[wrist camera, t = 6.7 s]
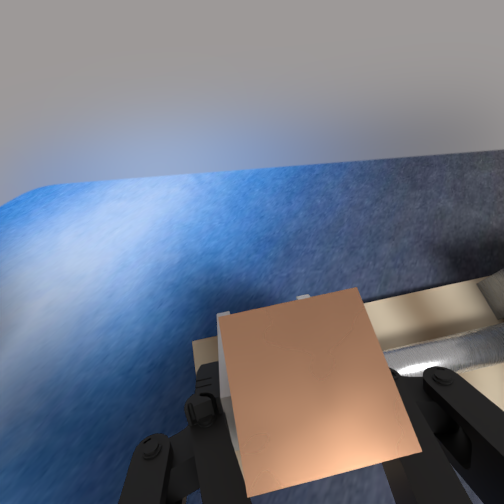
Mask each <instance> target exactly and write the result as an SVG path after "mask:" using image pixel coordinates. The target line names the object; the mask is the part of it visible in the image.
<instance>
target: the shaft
mask: <svg viewBox="0 0 504 504" xmlns="http://www.w3.org/2000/svg"><path fill="white" fill-rule="evenodd" d="M218 320H219V326H220V332H221V338H222V345H223V351H224V357H225V363H226V369H227V375H228V381H229V387H230V394H231V400H232V406H233V412H234V418H235V424H236V430H237V436H238V443H239V449H240V455H241V461H242V467H243V473H244V479H245V485H246V492H247V498H248V497H252V496H256V495H259V494H263V493H267V492H271V491H275V490H278V489H282V488H286V487H290V486H294V485H297V484H301V483H305V482H309V481H313V480H316V479H320V478H324V477H328V476H332V475H335V474H339V473H343V472H347V471H351V470H354V469H358V468H362V467H366V466H370V465H373V464H377V463H381V462H385V461H389V460H392V459H396V458H400V457H404V456H408V455H411V454H415V453H419V452H422V449H421V447H420V444H419V442H418V439H417V437H416V434H415V432H414V429H413V427H412V424H411V422H410V419H409V417H408V414H407V412H406V409H405V407H404V404H403V402H402V399H401V397H400V394H399V392H398V389H397V386H396V384H395V381H394V379H393V376H392V374H391V371H390V369H389V368H392V369H394V370H396V371H397V372H398V373H399V374H400V375H401V376H408V377H423V372H424V370H425V369H427V368H429V367H433V366H439V367H445V368H448V369H451V370H453V371H454V372H456V373H458V374H461V373H465V372H469V371H473V370H477V369H481V368H485V367H489V366H493V365H497V364H501V363H504V322H503V323H499V324H495V325H491V326H486V327H482V328H478V329H474V330H469V331H465V332H461V333H456V334H452V335H448V336H444V337H439V338H435V339H431V340H426V341H422V342H418V343H414V344H409V345H405V346H401V347H396V348H392V349H388V350H384V351H382V349H381V346H380V344H379V341H378V339H377V336H376V334H375V331H374V329H373V326H372V324H371V321H370V319H369V316H368V314H367V311H366V309H365V306H364V304H363V301H362V299H361V296H360V294H359V291H358V289H357V287H355V288H351V289H346V290H342V291H337V292H332V293H328V294H323V295H318V296H314V297H309V298H304V299H300V300H295V301H290V302H286V303H281V304H276V305H272V306H267V307H263V308H258V309H253V310H249V311H244V312H239V313H235V314H230V315H225V316H221V317H218Z"/></svg>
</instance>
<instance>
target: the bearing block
mask: <svg viewBox="0 0 504 504" xmlns="http://www.w3.org/2000/svg"><path fill="white" fill-rule="evenodd" d="M476 285H477V286H478V288H479V290H480V291H481V293H482V295H483V296H484V298H485V300H486V301H487V303H488V305H489V306H490V308H491V310H492V311H493V313H494V315H495V316H496V318H497V320H500V319H504V268H503V269H501V270H500V271H498V272H496V273H494V274H493V275H491V276H489V277H487V278H486V279H484V280H482V281H480V282H479V283H477V284H476Z"/></svg>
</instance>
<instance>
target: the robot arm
mask: <svg viewBox="0 0 504 504" xmlns="http://www.w3.org/2000/svg"><path fill="white" fill-rule="evenodd" d="M309 297H310V296H309V294H307V295H302V296H298V297H296V299H297V300H300V299H304V298H309ZM225 315H230V311H227V312H223V313H218V314H217V333H218V356H219V361H215V362H211V363H206V364H202V365H201V366H200V367H199V369H198V371H197V373H196V387H195V388H196V389H195V394H193V395H192V396H191V397H190V398H189V399H188V400H187V401H186V403H185V407H184V411H185V414H186V418H187V421H188V424H189V425H188V426H187V427H186V428H185V429H184V430H182V431H181V432H179V433H178V434H176V435H174V436H172V437H170V438H168V437H167V435H164V434H162V433H160V434H153V435H150V436H148V437H147V438H145V439H144V440H142V441H141V442H140V443H139V445H138V446H137V447H136V449H135V451H134V453H133V456H132V459H131V462H130V466H129V469H128V472H127V476H126V479H125V482H124V486H123V489H122V492H121V496H120V499H119V502H118V504H186V498H187V496H188V495H189V494H191V493H192V492H194V491H196V490H197V489H199V488H200V491H201V496H202V502H203V504H252V503H251V499H250V497H248V498H247V492H246V485H245V481H244V478H243V475H242V472H241V469H240V466H239V462H238V459H237V456H236V453H235V451H238V450H240V449H239V443H238V436H237V430H236V424H235V418H234V412H233V406H232V400H231V394H230V387H229V381H228V375H227V369H226V363H225V357H224V351H223V345H222V338H221V332H220V326H219V320H218V317H221V316H225ZM389 369H390V371H391V374H392V376H393V379H394V381H395V384H396V386H397V389H398V392H399V394H400V397H401V399H402V402H403V404H404V407H405V409H406V412H407V414H408V417H409V419H410V422H411V424H412V427H413V429H414V432H415V434H416V437H417V439H418V442H419V444H420V447H421V449H422V452H419V453H415V454H411V455H408V456H404V457H400V458H396V459H392V460H389V461H385V462H382V465H383V468H384V471H385V474H386V476H387V479H388V482H389V485H390V488H391V491H392V494H393V497H394V500H395V503H396V504H473V503H472V502H471V500H470V498H469V496H468V495H467V493H466V491H465V489H464V487H463V486H462V484H461V482H460V480H459V478H458V477H457V475H456V473H455V471H454V470H453V468H452V466H453V467H454V468H455V470H456V471H457V472H458V473H459V474H460V476H461V477H462V478H463V479H464V480H465V482H466V483H467V484H468V485H469V486H470V488H471V489H472V490H473V491H474V492H475V494H476V495H477V496H478V497H479V498H480V499H481V501H482V502H483V503H484V504H504V411H503V410H502V409H500V408H499V407H498V406H497V405H496V404H494V403H493V402H492V401H491V400H489V399H488V398H487V397H486V396H484V395H483V394H482V393H481V392H480V391H478V390H477V389H476V388H475V387H473V386H472V385H471V384H470V383H469V382H467V381H466V380H465V379H464V378H462V377H461V376H460V375H459V374H458V373H456V372H454V371H453V370H451V369H448V368H445V367H439V366H433V367H429V368H427V369H425V370H424V372H423V377H408V376H401V375H400V374H399V373H398V372H397V371H396V370H394V369H392V368H389ZM451 465H452V466H451Z"/></svg>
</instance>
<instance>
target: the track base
mask: <svg viewBox="0 0 504 504" xmlns="http://www.w3.org/2000/svg"><path fill="white" fill-rule="evenodd" d="M487 277H489V276H487ZM487 277H482V278H477V279H473V280H468V281H464V282H459V283H455V284H450V285H446V286H441V287H437V288H432V289H427V290H423V291H418V292H414V293H409V294H405V295H400V296H396V297H391V298H387V299H382V300H377V301H373V302H368V303H364V306H365V309H366V311H367V314H368V316H369V319H370V321H371V324H372V326H373V329H374V331H375V334H376V336H377V339H378V341H379V344H380V346H381V349H382V351H384V350H388V349H392V348H396V347H401V346H405V345H409V344H414V343H418V342H422V341H426V340H431V339H435V338H439V337H444V336H448V335H452V334H456V333H461V332H465V331H469V330H474V329H478V328H482V327H486V326H491V325H495V324H499V323H503V322H504V319H500V320H497V318H496V316H495V315H494V313H493V311H492V310H491V308H490V306H489V305H488V303H487V301H486V300H485V298H484V296H483V295H482V293H481V291H480V290H479V288H478V286H477V285H476V284H477V283H479V282H480V281H482V280H484V279H486V278H487ZM192 345H193V354H194V362H195V371H196V373H197V371H198V369H199V367H200V366H201V365H202V364H206V363H211V362H215V361H219V356H218V336H214V337H209V338H205V339H200V340H196V341H192ZM459 375H460V376H461V377H462V378H464V379H465V380H466V381H467V382H469V383H470V384H471V385H472V386H473V387H475V388H476V389H477V390H478V391H480V392H481V393H482V394H483V395H484V396H486V397H487V398H488V399H489V400H491V401H492V402H493V403H494V404H496V405H497V406H498V407H499V408H500V409H502V410H503V411H504V363H501V364H497V365H493V366H489V367H485V368H481V369H477V370H473V371H469V372H465V373H461V374H459ZM235 453H236V456H237V459H238V462H239V466H240V469H241V472H242V475H243V478H244V473H243V467H242V461H241V455H240V450H238V451H235ZM381 463H382V462H381ZM377 464H378V463H377ZM373 465H374V464H373ZM366 467H367V466H366ZM362 468H363V467H362ZM358 469H359V468H358ZM354 470H355V469H354ZM347 472H348V471H347ZM343 473H344V472H343ZM339 474H340V473H339ZM335 475H336V474H335ZM328 477H329V476H328ZM324 478H325V477H324ZM320 479H321V478H320ZM316 480H317V479H316ZM244 481H245V479H244ZM313 481H314V480H313ZM309 482H310V481H309ZM305 483H306V482H305ZM301 484H302V483H301ZM297 485H298V484H297ZM294 486H295V485H294ZM290 487H291V486H290ZM286 488H287V487H286ZM282 489H283V488H282ZM278 490H279V489H278ZM275 491H276V490H275ZM271 492H272V491H271ZM267 493H268V492H267ZM263 494H264V493H263ZM259 495H260V494H259ZM256 496H257V495H256ZM252 497H253V496H252Z"/></svg>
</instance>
